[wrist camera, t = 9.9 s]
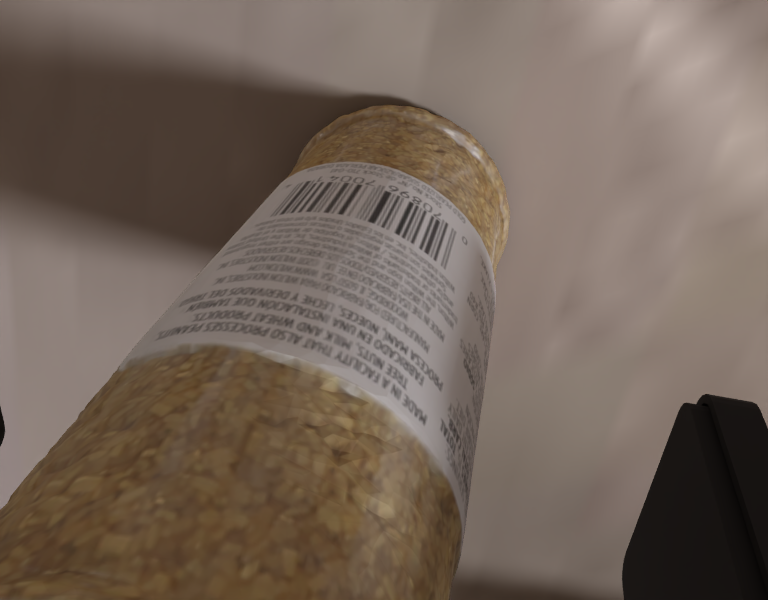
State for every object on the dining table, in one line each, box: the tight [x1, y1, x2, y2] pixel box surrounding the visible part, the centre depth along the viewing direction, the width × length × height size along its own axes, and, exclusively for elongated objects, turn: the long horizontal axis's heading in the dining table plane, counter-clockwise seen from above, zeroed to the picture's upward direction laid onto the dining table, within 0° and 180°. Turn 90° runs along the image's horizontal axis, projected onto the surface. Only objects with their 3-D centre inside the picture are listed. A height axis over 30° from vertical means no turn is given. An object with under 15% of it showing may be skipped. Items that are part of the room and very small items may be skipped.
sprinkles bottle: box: [0, 105, 510, 600], centre depth 9 cm, size 5×5×14 cm
